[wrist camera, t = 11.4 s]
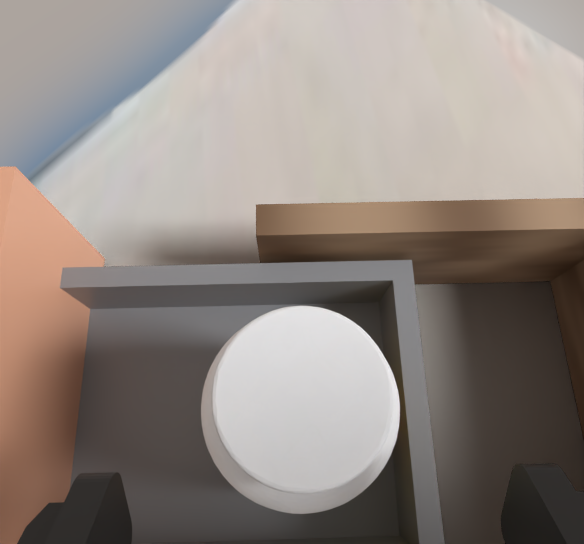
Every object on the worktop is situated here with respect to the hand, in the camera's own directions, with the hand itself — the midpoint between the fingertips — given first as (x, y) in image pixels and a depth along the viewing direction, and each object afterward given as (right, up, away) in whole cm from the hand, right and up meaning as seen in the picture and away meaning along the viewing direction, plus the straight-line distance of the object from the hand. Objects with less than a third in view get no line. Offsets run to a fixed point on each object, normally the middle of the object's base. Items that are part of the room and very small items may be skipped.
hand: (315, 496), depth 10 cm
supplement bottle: (0, -1, +10) cm, 10 cm away
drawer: (-3, -2, +11) cm, 11 cm away
